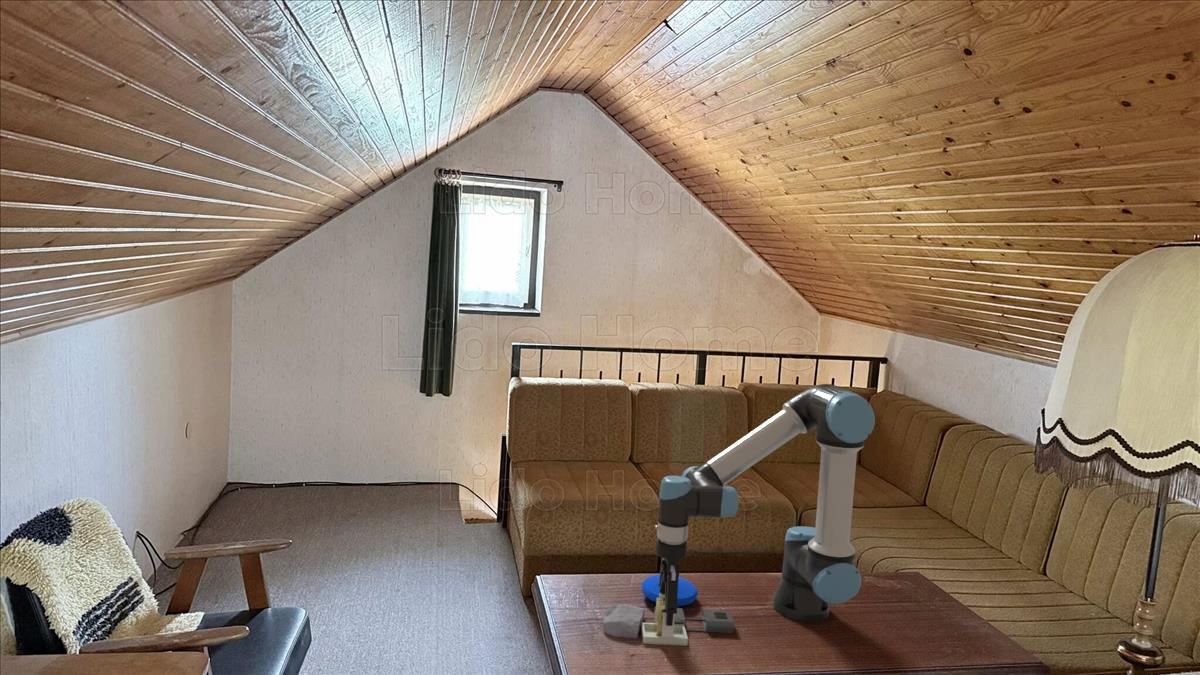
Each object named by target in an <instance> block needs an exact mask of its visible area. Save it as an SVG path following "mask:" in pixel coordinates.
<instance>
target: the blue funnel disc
mask: <svg viewBox="0 0 1200 675" xmlns="http://www.w3.org/2000/svg"><path fill="white" fill-rule="evenodd" d="M659 580H660V574H655V575H651V576H648V577H647V578H645V580H643V581H642V583H641V591H642V593H643V595H644V596H645V597H646V598H648V600H650V601H653V602H655V603H656V601H657V597H658V598H659V594H661V593H660V591H659V589H660V587H659ZM698 593H699V592H698V590H697V588H696V586H695V585H694V584H693V582H691V581H689V579H688V580H687V579H685V578H683V577H680V576H679V578H678V595H677V607H682V606H687V605H691V604H692V603H693V602H694V601H695V600H696V599H697V597H698Z"/></svg>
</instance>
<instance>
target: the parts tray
mask: <svg viewBox="0 0 1200 675" xmlns="http://www.w3.org/2000/svg"><path fill="white" fill-rule="evenodd" d="M654 627H655V622H644V621H643V622H641V629H640V634H641V638H642V644H644V645H667V646H669V645H670V646H684V647H686V646H687V647H688V642H689V638H688V633H687V631H686V630H685V629H686V625H685V626H684V624H674V635H673V637H662V636H655V633H654Z"/></svg>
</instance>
